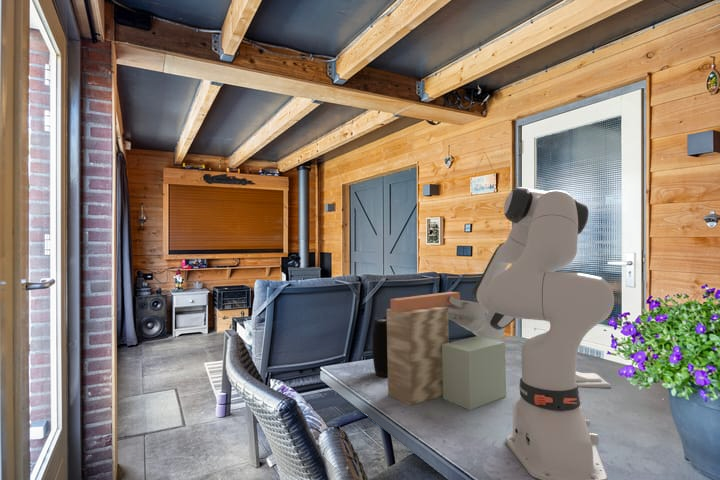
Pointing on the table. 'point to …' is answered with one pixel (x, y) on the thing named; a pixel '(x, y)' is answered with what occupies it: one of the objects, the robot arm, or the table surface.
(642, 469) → the table surface
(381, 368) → the portable speaker
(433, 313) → the tower
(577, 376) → the light switch
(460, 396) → the sage green block
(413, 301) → the salmon square-ended bar
